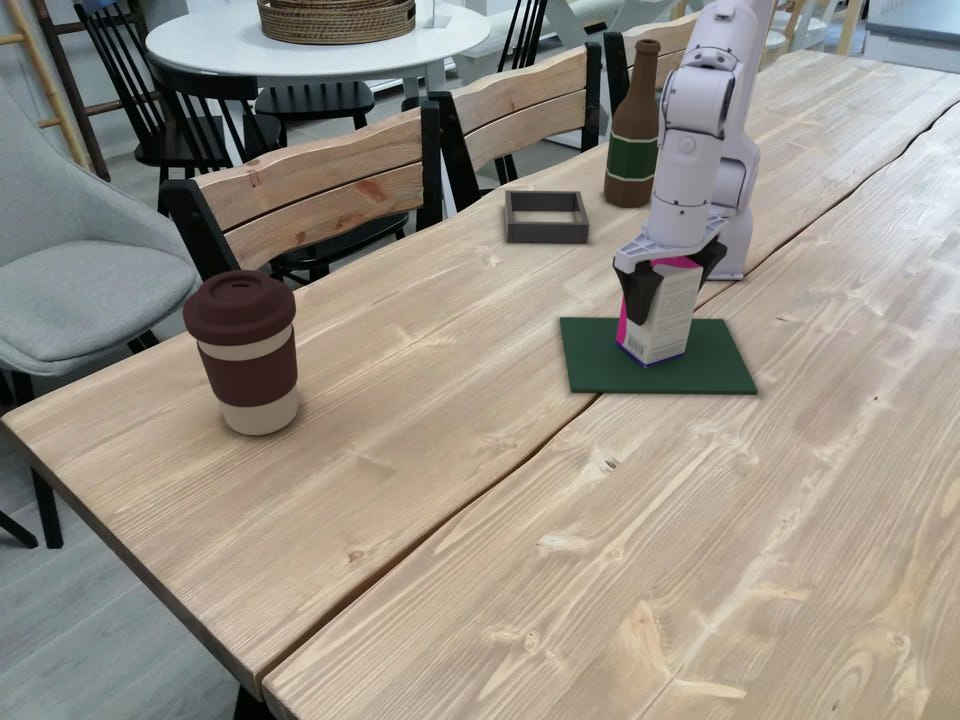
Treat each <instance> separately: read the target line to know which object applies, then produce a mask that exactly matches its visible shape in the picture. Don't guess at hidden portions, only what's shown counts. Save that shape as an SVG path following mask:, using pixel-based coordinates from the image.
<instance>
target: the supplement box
mask: <svg viewBox="0 0 960 720" xmlns="http://www.w3.org/2000/svg"><path fill="white" fill-rule="evenodd" d="M651 266H653V271H655V272H657V273H658V274H660V275H662V276H664V277H665V278H664V279H663V281H662V282H661V283H660V285H659V286H658V288H657V290H656V292H655V294H654V296H653V299H652V302H651V305H650V309H649V313H648V317H647V319H646V321H645V323H644V324H643V325H641V326H638V325H637V324H635V323H634V322H632V321H631V320H629V319H628V318H627V315H626V307H625V300H624V295H622V300H621V306H620V312H619V318H620V319H619V325H618V331H617V337H616V342H615V343H616V345H618V346H619V347H620V348H621V349H622V350H624V351H625V352H626V353H627V354H628V355H630V356H631V357H632V358H633V359H634V360H636V361H637V362H638V363H639V364H640V365H641V366H643V367H644V368H645V369H646V368H649V367H652V366H655V365H658V364H660V363H663V362H666V361H669V360H673V359H675V358H679V357H681V356H683V355H684V352H685V348H686V343H687V339H688V334H689V330H690V325H691V320H692V319H693V315H694V311H695V307H696V302H697V298H698V296H697V294H698V290H699V285H700V281H701V276H702V272H703V267H702V266H700V265H698V264H697V263H695V262H693V261H692V260H690V259H689V258H687V257H685V256H675V257H667V258H658V259H655V260H652V261H651ZM698 295H699V294H698Z"/></svg>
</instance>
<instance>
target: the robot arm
mask: <svg viewBox="0 0 960 720" xmlns="http://www.w3.org/2000/svg"><path fill="white" fill-rule="evenodd" d="M776 1H777V0H715V1H712V2H710V3H708V4H706V6H703V8H702V9H701V10H700V12H699V14H698V16H697V19H696V21H695V24H694V27H693V30H692V32H691V35H690V38H689V40H688V43H687V46H686V49H685V51H684V54H683V56H682V59H681V62H680V65H679V68H678V69H677V70H675V69H671V70H670V71H669V73H668V74H667V76H666V79H665V82H664V84H663V88H662V92H661V96H660V102H659V107H658V108H659V135H658V142H657V144H658V145H657V147H658V148H659V152H658V159H657V165H656V171H655V177H654V183H653V189H652V195H651V203H650V209H649V214H648V215H649V216H648V219H647V220H644V221H642V222H641V225H640V229H641V230H642V231H640V233H638V234H637V235H636V236H635V237H634V238H632V239H631V240H630V241H629V242H628V243H626V244H625V245H623V246H621V247H619V248H616V250H615V255H614V256H613V257H612V263H611V264H612V268H613V270H614V272H615V273H616V276H617V278H618V281H619V284H620V287H621V290H622V294H623V295H624V300H625V307H626V315H627V318H628V319H629V320H631V321H632V322H634V323H635V324H637V325H638V326H641V325H643V324H644V323H645V321H646V319H647V317H648V313H649V309H650V305H651V302H652V299H653V296H654V294H655V292H656V290H657V288H658V286H659V285H660V283H661V282H662V281H663V279H664V278H665V277H664V276H662V275H660V274H658V273H657V272H655V271H653V266H651V261H652V260H655V259H658V258H667V257H675V256H685V257H687V258H689V259H690V260H692V261H693V262H695V263H697V264H698V265H700V266H702V267H703V272H702V276H701V281H700V285H699V290H698V294H697V297H698V295H699V294H700V292H701V290H702V288H703V286H704V284H705V283H706V281H707V280H719V281H720V280H721V281H723V280H725V281H726V280H727V281H728V280H729V281H733V280H734V281H741V280H743V279H744V274H743V271H744V267H745V263H746V260H747V255H748V251H749V248H750V245H751V242H752V241H751V240H752V237H753V229H754V217H753V212H752V209H751V208H750V207H749V205H750V202H751V199H752V196H753V192H754V189H755V185H756V182H757V177H758V173H759V167H760V166H759V164H760V160H761V156H762V153H761V149H760V147H759V146H758V144H757V143H756V142H755V141H754V139H752V138H751V136H749V135H748V134H747V132H746V131H745V126H746V122H747V119H748V115H749V114H748V113H749V110H750V105H751V102H752V98H753V93H754V90H755V85H756V80H757V77H758V72H759V68H760V64H761V62H762V61H761V60H762V56H763V52H764V47H765V44H766V40H767V35H768V32H769V27H770V24H771V20H772V16H773V15H772V14H773V12H774V8H775V3H776ZM623 295H622V296H623Z"/></svg>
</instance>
